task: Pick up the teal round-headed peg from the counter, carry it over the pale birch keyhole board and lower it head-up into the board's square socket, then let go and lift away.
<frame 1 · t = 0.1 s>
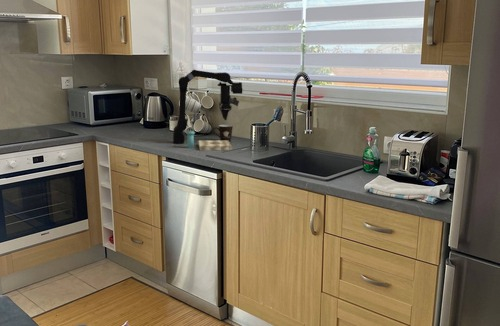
hand: (224, 119, 306), 15 cm above the worktop, tool pointing down, fingers open, 9 cm apart
peg: (190, 147, 292), on the worktop
coffee mug: (223, 141, 314), on the worktop
keyhole board: (214, 147, 294), on the worktop
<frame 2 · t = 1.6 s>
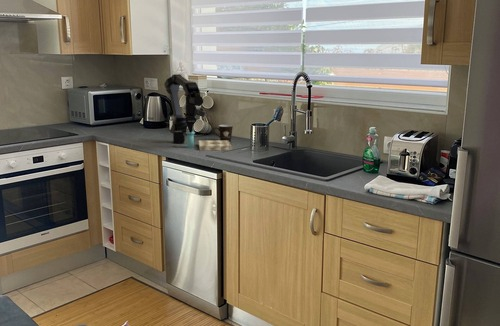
hand: (190, 131, 290), 10 cm above the worktop, tool pointing down, fingers open, 9 cm apart
nothing on the worktop moved.
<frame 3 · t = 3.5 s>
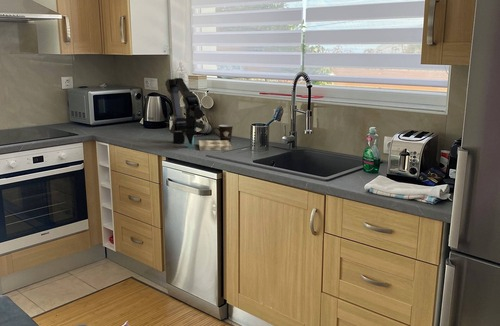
hand: (190, 143, 291), 2 cm above the worktop, tool pointing down, fingers closed on peg, 4 cm apart
peg: (190, 147, 292), on the worktop, touching gripper
everything else where it was.
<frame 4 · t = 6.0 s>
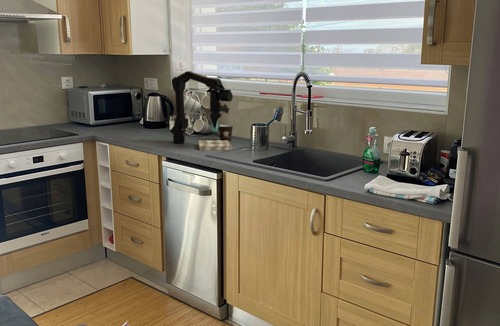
hand: (214, 127, 291), 12 cm above the worktop, tool pointing down, fingers closed on peg, 4 cm apart
peg: (214, 131, 291), point 10 cm above the worktop, touching gripper
everything else where it was.
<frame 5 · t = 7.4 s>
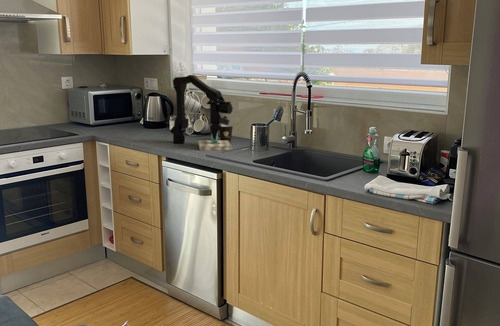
hand: (214, 139, 292), 5 cm above the worktop, tool pointing down, fingers closed on peg, 4 cm apart
peg: (214, 142, 293), point 3 cm above the worktop, touching gripper
everything else where it was.
when the fingers open (4 cm above the worktop, at t = 8.5 s): peg drops 2 cm, resting in keyhole board.
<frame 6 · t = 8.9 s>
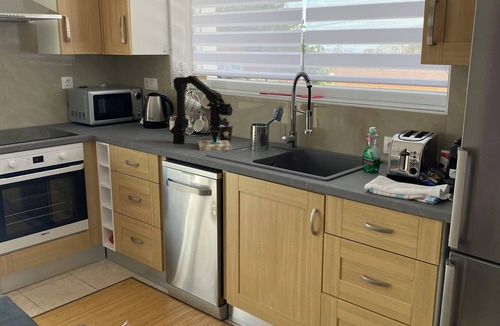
hand: (214, 140, 293), 4 cm above the worktop, tool pointing down, fingers open, 9 cm apart
peg: (214, 147, 294), resting in keyhole board
everything else where it was.
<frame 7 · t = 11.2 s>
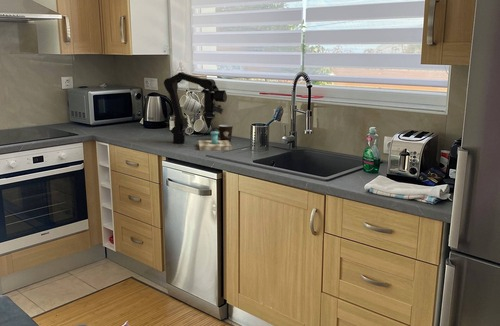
hand: (208, 127, 296), 11 cm above the worktop, tool pointing down, fingers open, 9 cm apart
nothing on the worktop moved.
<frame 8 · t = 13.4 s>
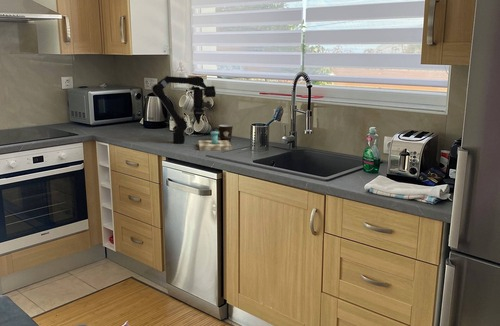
hand: (198, 122, 306), 12 cm above the worktop, tool pointing down, fingers open, 9 cm apart
nothing on the worktop moved.
at the end: peg 0.0 cm off-centre on the keyhole board, point 0.0 cm above the keyhole board's base; peg tilted 0°; the gripper is holding nothing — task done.
